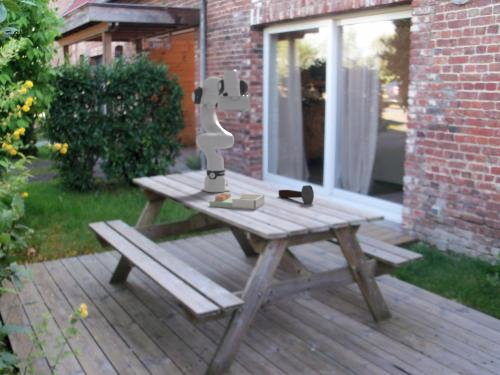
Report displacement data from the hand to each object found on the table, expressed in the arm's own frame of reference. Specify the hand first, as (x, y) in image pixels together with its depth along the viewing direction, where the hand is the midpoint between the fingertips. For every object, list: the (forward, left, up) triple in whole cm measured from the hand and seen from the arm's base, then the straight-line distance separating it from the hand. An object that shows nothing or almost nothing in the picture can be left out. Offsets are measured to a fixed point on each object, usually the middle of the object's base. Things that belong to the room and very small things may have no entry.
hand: (235, 117), depth 349 cm
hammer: (-15, +34, -51) cm, 63 cm away
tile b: (+14, -4, -48) cm, 50 cm away
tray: (+10, +12, -51) cm, 53 cm away
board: (+10, -2, -51) cm, 52 cm away
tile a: (+6, -4, -48) cm, 48 cm away
